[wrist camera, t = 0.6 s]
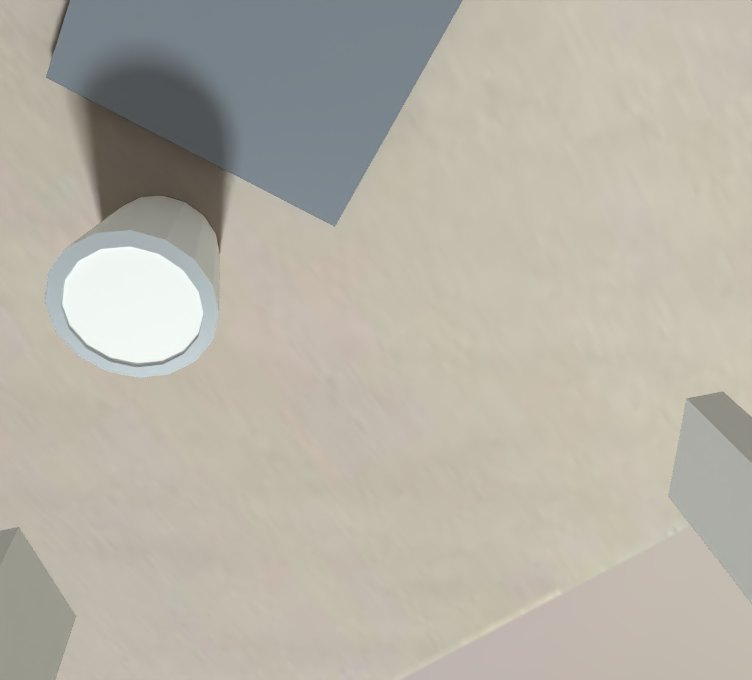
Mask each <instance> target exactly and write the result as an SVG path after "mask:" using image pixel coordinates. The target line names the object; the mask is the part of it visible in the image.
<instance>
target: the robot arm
mask: <svg viewBox="0 0 752 680" xmlns="http://www.w3.org/2000/svg"><path fill="white" fill-rule="evenodd" d="M668 497H669V498H670V499H671V501H672V502H673V503H674V505H675V506H676V507H677V508H678V510H679V511H680V512H681V514H682V515H683V516H684V517H685V519H686V520H687V521H688V523H689V524H690V525H691V526H692V528H693V529H694V530H695V532H696V533H697V534H698V535H699V536H700V538H701V539H702V541H703V542H704V543H705V544H706V546H707V547H708V548H709V550H710V551H711V552H712V554H713V555H714V556H715V558H716V559H717V560H718V561H719V562H720V564H721V565H722V567H723V568H724V569H725V570H726V572H727V573H728V574H729V576H730V577H731V578H732V579H733V581H734V582H735V583H736V585H737V586H738V587H739V589H740V590H741V591H742V592H743V593H744V595H745V596H746V597H747V599H748V600H749V601H750V603H751V604H752V417H751V416H750V415H749V414H747V413H746V412H745V411H744V410H743V409H742V408H741V407H740V406H739V405H737V404H736V403H735V402H734V401H733V400H732V399H731V398H730V397H729V396H727V395H726V394H725V393H724V392H718V393H713V394H708V395H703V396H697V397H692V398H687V399H686V404H685V410H684V415H683V421H682V426H681V431H680V437H679V442H678V447H677V453H676V458H675V463H674V469H673V474H672V479H671V485H670V490H669V496H668ZM75 618H76V615H75V614H74V612H73V610H72V609H71V607H70V606H69V604H68V603H67V601H66V600H65V598H64V596H63V595H62V593H61V592H60V590H59V589H58V587H57V586H56V584H55V582H54V581H53V579H52V578H51V576H50V575H49V573H48V572H47V570H46V568H45V567H44V565H43V564H42V562H41V561H40V559H39V558H38V556H37V554H36V553H35V551H34V550H33V548H32V547H31V545H30V543H29V542H28V540H27V539H26V537H25V536H24V534H23V533H22V531H21V529H20V528H19V527H17V528H12V529H7V530H2V531H0V680H55V679H56V676H57V673H58V669H59V666H60V663H61V660H62V657H63V654H64V651H65V648H66V645H67V642H68V639H69V636H70V633H71V630H72V627H73V624H74V621H75Z"/></svg>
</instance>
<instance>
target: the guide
mask: <svg viewBox="0 0 752 680" xmlns="http://www.w3.org/2000/svg"><path fill="white" fill-rule="evenodd" d="M461 2H462V0H70V2H69V5H68V9H67V12H66V15H65V18H64V21H63V25H62V28H61V31H60V34H59V37H58V40H57V44H56V47H55V50H54V53H53V56H52V60H51V63H50V66H49V69H48V72H47V76H46V78H48V79H50V80H52V81H54V82H56V83H58V84H60V85H62V86H64V87H66V88H67V89H69V90H71V91H73V92H75V93H77V94H79V95H81V96H83V97H85V98H87V99H89V100H91V101H93V102H95V103H97V104H98V105H100V106H102V107H104V108H106V109H108V110H110V111H112V112H114V113H116V114H118V115H120V116H122V117H124V118H126V119H127V120H129V121H131V122H133V123H135V124H137V125H139V126H141V127H143V128H145V129H147V130H149V131H151V132H153V133H155V134H157V135H158V136H160V137H162V138H164V139H166V140H168V141H170V142H172V143H174V144H176V145H178V146H180V147H182V148H184V149H186V150H188V151H189V152H191V153H193V154H195V155H197V156H199V157H201V158H203V159H205V160H207V161H209V162H211V163H213V164H215V165H217V166H218V167H220V168H222V169H224V170H226V171H228V172H230V173H232V174H234V175H236V176H238V177H240V178H242V179H244V180H246V181H248V182H249V183H251V184H253V185H255V186H257V187H259V188H261V189H263V190H265V191H267V192H269V193H271V194H273V195H275V196H277V197H278V198H280V199H282V200H284V201H286V202H288V203H290V204H292V205H294V206H296V207H298V208H300V209H302V210H304V211H306V212H308V213H309V214H311V215H313V216H315V217H317V218H319V219H321V220H323V221H325V222H327V223H329V224H331V225H333V226H335V225H336V224H337V222H338V220H339V218H340V217H341V215H342V213H343V211H344V209H345V208H346V206H347V204H348V202H349V201H350V199H351V197H352V195H353V194H354V192H355V190H356V188H357V186H358V185H359V183H360V181H361V179H362V178H363V176H364V174H365V172H366V171H367V169H368V167H369V165H370V163H371V162H372V160H373V158H374V156H375V155H376V153H377V151H378V149H379V147H380V146H381V144H382V142H383V140H384V139H385V137H386V135H387V133H388V132H389V130H390V128H391V126H392V124H393V123H394V121H395V119H396V117H397V116H398V114H399V112H400V110H401V109H402V107H403V105H404V103H405V101H406V100H407V98H408V96H409V94H410V93H411V91H412V89H413V87H414V85H415V84H416V82H417V80H418V78H419V77H420V75H421V73H422V71H423V70H424V68H425V66H426V64H427V62H428V61H429V59H430V57H431V55H432V54H433V52H434V50H435V48H436V46H437V45H438V43H439V41H440V39H441V38H442V36H443V34H444V32H445V31H446V29H447V27H448V25H449V23H450V22H451V20H452V18H453V16H454V15H455V13H456V11H457V9H458V8H459V6H460V4H461Z"/></svg>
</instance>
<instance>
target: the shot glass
mask: <svg viewBox="0 0 752 680" xmlns="http://www.w3.org/2000/svg"><path fill="white" fill-rule="evenodd" d="M219 278H220V253H219V248H218V242H217V237H216V233H215V232H214V230H213V229H212V227H211V226H210V224H209V223H208V221H207V220H206V218H205V217H204V216H203V215H202V214H201V213H199V212H198V211H197V210H195V209H194V208H192V207H191V206H190V205H188V204H187V203H186V202H183V201H180V200H176V199H173V198H169V197H166V196H150V197H139V198H137V199H135V200H134V201H132V202H130V203H128V204H126V205H124V206H122V207H120V208H119V209H118V210H116V211H115V212H114V213H112V214H111V215H110V216H108V217H107V218H106V219H104V220H103V221H102V222H100V223H99V224H98V225H96V226H95V227H94V228H92V229H91V230H90V231H88V232H87V233H86V234H84V235H83V236H82V237H80V238H79V239H78V240H76V241H75V242H74V243H72V244H71V245H70V246H68V247H67V248H66V249H65V250H64V251H63V253H62V254H61V256H60V257H59V258H58V260H57V261H56V263H55V264H54V266H53V267H52V268H51V270H50V271H49V273H48V278H47V288H46V297H45V304H46V307H47V310H48V312H49V315H50V318H51V320H52V323H53V326H54V329H55V331H56V332H57V333H58V335H59V336H60V337H61V338H62V339H63V340H64V341H65V342H66V343H67V344H68V346H69V347H70V348H71V349H72V350H73V351H74V352H75V353H76V354H77V355H78V356H80V357H82V358H83V359H85V360H87V361H89V362H91V363H92V364H94V365H96V366H98V367H100V368H101V369H103V370H105V371H108V372H113V373H118V374H123V375H128V376H133V377H137V378H139V377H148V376H158V375H167V374H170V373H172V372H174V371H176V370H179V369H181V368H183V367H185V366H187V365H189V364H191V363H193V362H195V361H196V359H197V358H198V357H199V356H200V355H201V354H202V352H203V351H204V350H205V349H206V348H207V347H208V345H209V344H210V343H211V342H212V340H213V337H214V333H215V329H216V325H217V321H218V317H219Z"/></svg>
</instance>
